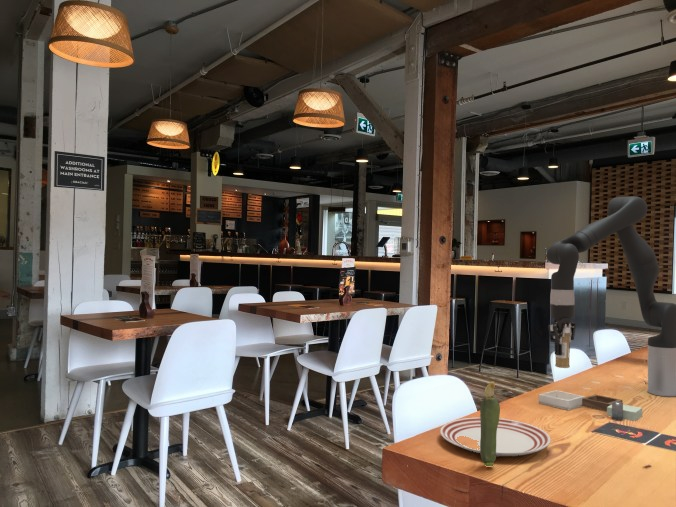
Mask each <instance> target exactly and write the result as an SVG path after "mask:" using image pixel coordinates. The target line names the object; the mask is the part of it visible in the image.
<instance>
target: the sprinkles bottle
mask: <svg viewBox="0 0 676 507" xmlns="http://www.w3.org/2000/svg"><path fill="white" fill-rule="evenodd" d="M569 333H570V328H569V327H566V329H565V335H564V337H563V339H562V355H555V354H554V355H555V365H554V366H555V367H556V368H558V369H559V368H560V369H568V368H570V351H571V349H570V350H569ZM558 334H561V333H558Z"/></svg>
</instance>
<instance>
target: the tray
mask: <svg viewBox="0 0 676 507" xmlns="http://www.w3.org/2000/svg"><path fill="white" fill-rule="evenodd" d="M585 397H586V396H585V395H579V394H576V393H571V392H567V391H561V390H557V389H555V390H551V391H547V392H542V393H540V394H538V404H539V405H544V406H548V407H551V408H556V409H561V410H563V411H564V410H565V411H572V410H574V409H578V408H580V407H583V406H582V398H585Z"/></svg>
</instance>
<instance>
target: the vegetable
mask: <svg viewBox="0 0 676 507" xmlns="http://www.w3.org/2000/svg"><path fill="white" fill-rule="evenodd" d="M495 384H496V382H495V381H494V380H492V381H490V382H489V383H488V384H487V386H486V387H485V389H484V395H485V397H483V398H482V400H481V403H480V405H479V413H480V416H479V417H480V421H481V439H480V453H481V454H480V459H481V461H482V462H483V465H484V466H485V465H486V466H493V465H494V464H495V461H496V459H497V456H496V434H497V426H498V423H499V418H500V413H501V406H500V403H499V401H498V399H497V398H496V397H494V395H495V390H494V389H496V385H495ZM493 467H494V466H493Z"/></svg>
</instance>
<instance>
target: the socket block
mask: <svg viewBox="0 0 676 507" xmlns="http://www.w3.org/2000/svg"><path fill="white" fill-rule="evenodd" d="M613 401H618V402H622V403H623V399H619V398H614V397H609V396H603V395H599V394H593V395H592V394H591V395H589V396H585V398H582V406H581V407H585V408H589V409H593V410H596V411H597V410H598V411H602V412H606V413H607V407H608V406H610V405H612V402H613Z"/></svg>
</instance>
